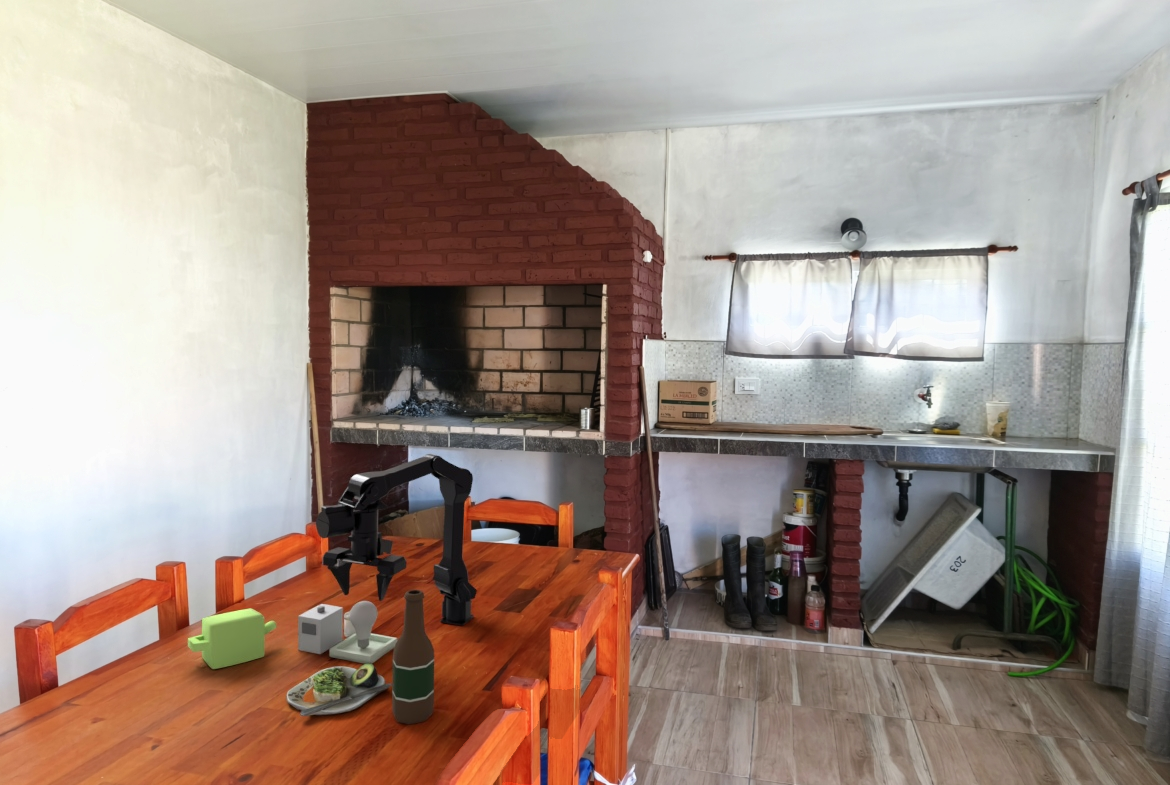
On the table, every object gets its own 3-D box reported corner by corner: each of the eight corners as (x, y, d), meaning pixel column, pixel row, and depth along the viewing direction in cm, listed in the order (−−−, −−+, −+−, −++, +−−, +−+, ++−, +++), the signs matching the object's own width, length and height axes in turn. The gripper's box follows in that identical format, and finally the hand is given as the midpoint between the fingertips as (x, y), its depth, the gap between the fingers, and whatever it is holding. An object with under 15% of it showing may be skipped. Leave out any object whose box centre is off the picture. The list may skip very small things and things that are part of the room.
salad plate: (336, 734, 128) (336, 709, 128) (261, 712, 135) (261, 688, 135) (401, 687, 146) (401, 665, 146) (332, 670, 153) (332, 649, 153)
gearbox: (269, 640, 167) (269, 600, 167) (285, 652, 160) (285, 610, 160) (184, 660, 155) (184, 617, 155) (197, 674, 148) (197, 629, 148)
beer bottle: (395, 704, 139) (397, 584, 137) (436, 703, 139) (437, 584, 138) (388, 725, 131) (389, 599, 129) (430, 725, 132) (432, 599, 130)
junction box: (343, 639, 167) (343, 602, 167) (319, 654, 159) (319, 615, 159) (322, 635, 169) (322, 599, 169) (297, 650, 161) (297, 612, 160)
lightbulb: (368, 656, 158) (368, 608, 157) (344, 652, 160) (343, 605, 158) (382, 644, 164) (382, 598, 163) (358, 640, 165) (358, 595, 164)
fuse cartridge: (365, 631, 172) (365, 611, 172) (355, 638, 168) (355, 618, 168) (350, 629, 173) (350, 609, 173) (340, 636, 169) (340, 616, 169)
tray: (397, 645, 165) (397, 637, 165) (370, 664, 155) (370, 656, 155) (358, 638, 168) (358, 631, 168) (329, 656, 158) (329, 648, 158)
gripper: (419, 526, 165) (418, 592, 166) (351, 518, 170) (350, 581, 171) (392, 538, 154) (391, 608, 155) (321, 528, 160) (320, 596, 161)
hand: (363, 597), depth 161 cm, fingers open, 9 cm apart
